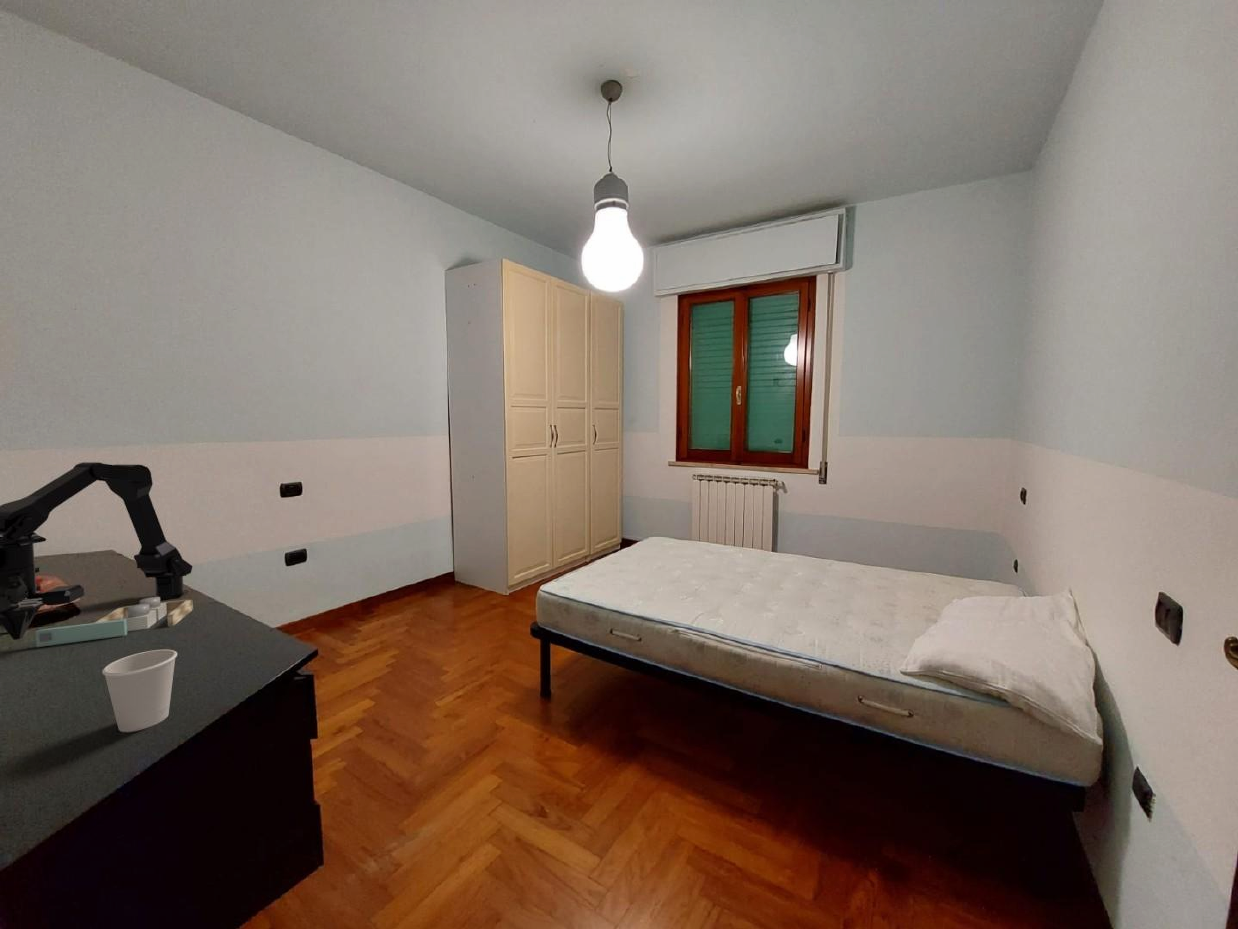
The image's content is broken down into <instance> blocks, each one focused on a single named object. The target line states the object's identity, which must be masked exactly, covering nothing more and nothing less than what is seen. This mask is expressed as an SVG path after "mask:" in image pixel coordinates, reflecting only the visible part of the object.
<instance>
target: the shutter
mask: <svg viewBox="0 0 1238 929" xmlns="http://www.w3.org/2000/svg"><path fill="white" fill-rule="evenodd" d="M127 635H128V631H127V622H126V619H123V620H114V621H106V622H98V623H95V622H90V623H83V624H82V623H81V624H75V625H73V624H72V625H66V626H65V625H64V626H58V627H48V628H42V629H37V630H36V631H35V644H36V648H41V647H47V646H48V647H49V646H55V645H63V644H70V643H78V642H79V643H80V642H86V641H93V640H100V639H110V638H114V637H115V638H116V637H124V636H127Z"/></svg>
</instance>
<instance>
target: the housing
mask: <svg viewBox="0 0 1238 929" xmlns="http://www.w3.org/2000/svg"><path fill="white" fill-rule="evenodd" d="M193 602H194V601H193V598H191V599H190V598H189V599H181V600H170V601H164V602H161V601H160V603H166V607H167V614H166V616H167V618H166V619H167V628H168V627H174V626H175V625H176V624H178V623H179V622H180V621H181V620H183V619H184V618H185V617H186V616H188V615H189V613H191V612H192V611H193V610H194V604H193ZM131 606H132V605H127V606H120V607H118V608H116V609H115V610H112V612H110V613H108V614H106V615H105V616H103V617H102V618H100V619H98V620H97V621H95V622H94V623H98V622H106V621H114V620H121V619H123V618H124V617H126V616H127V615H128V608H129V607H131ZM163 618H164V617H162V618H161V619H163ZM154 625H155V623H154V624H153V625H152V626H151V627H153V626H154ZM141 630H143V629H141ZM135 631H137V630H133V631H132V632H135Z"/></svg>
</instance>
